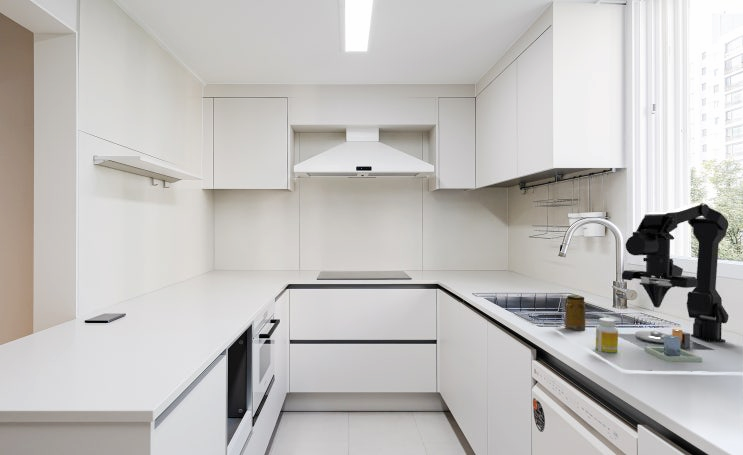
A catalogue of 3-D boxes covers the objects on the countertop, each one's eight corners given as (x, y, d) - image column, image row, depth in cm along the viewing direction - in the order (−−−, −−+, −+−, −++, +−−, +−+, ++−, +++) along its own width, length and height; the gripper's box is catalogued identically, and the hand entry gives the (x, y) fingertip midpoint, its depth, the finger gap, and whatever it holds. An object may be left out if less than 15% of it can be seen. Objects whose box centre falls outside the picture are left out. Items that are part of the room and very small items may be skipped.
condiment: (570, 327, 145) (570, 293, 144) (595, 332, 138) (595, 297, 138) (560, 331, 140) (560, 296, 140) (585, 336, 133) (586, 299, 133)
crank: (627, 333, 133) (627, 318, 133) (660, 333, 133) (661, 319, 133) (661, 347, 118) (661, 331, 118) (699, 347, 118) (699, 331, 118)
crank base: (674, 337, 133) (674, 321, 133) (715, 352, 117) (715, 335, 117) (612, 336, 134) (613, 320, 134) (644, 351, 118) (644, 334, 118)
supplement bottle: (591, 351, 118) (591, 318, 118) (605, 349, 119) (605, 316, 119) (607, 357, 113) (608, 322, 112) (622, 355, 114) (622, 320, 114)
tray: (676, 353, 116) (676, 347, 116) (701, 364, 107) (701, 357, 107) (644, 353, 116) (644, 346, 116) (666, 363, 107) (667, 357, 107)
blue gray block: (665, 354, 114) (666, 334, 114) (681, 357, 112) (682, 337, 112) (662, 356, 112) (662, 336, 112) (678, 360, 109) (678, 339, 109)
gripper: (710, 256, 116) (709, 311, 116) (644, 252, 133) (643, 300, 133) (685, 257, 112) (684, 314, 112) (620, 252, 129) (620, 302, 129)
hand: (656, 307), depth 122 cm, fingers closed
